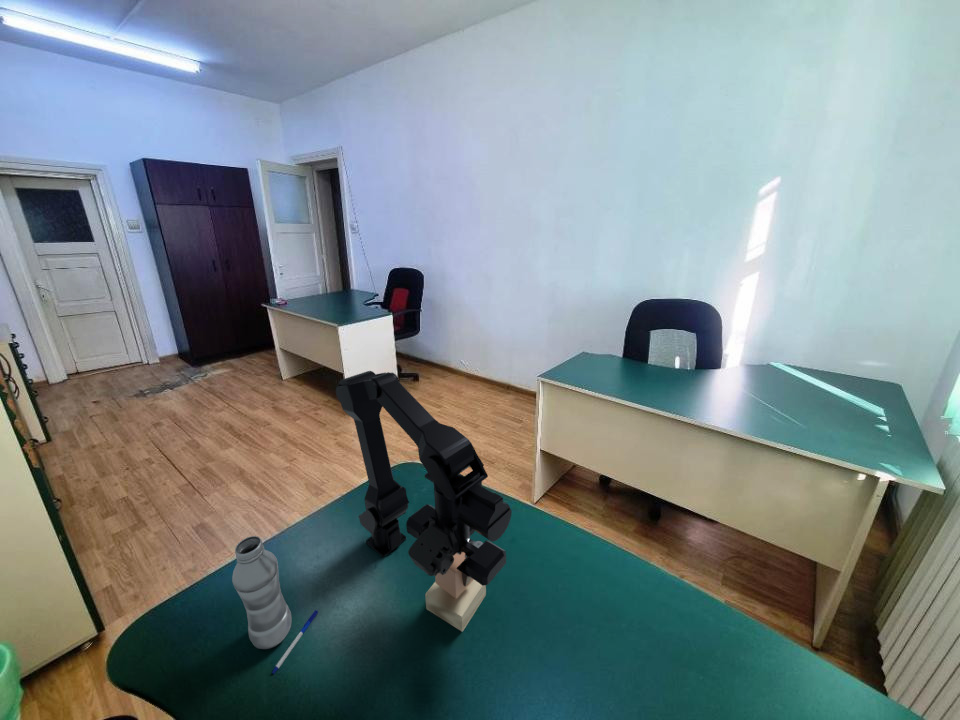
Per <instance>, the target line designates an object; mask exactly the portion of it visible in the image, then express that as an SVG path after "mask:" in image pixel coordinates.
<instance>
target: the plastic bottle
mask: <svg viewBox="0 0 960 720" xmlns="http://www.w3.org/2000/svg"><path fill="white" fill-rule="evenodd" d="M234 554H235V558H236V562H237V563H236V564H235V567H234V569H233V571H232V578H231V579H232V580H231V581H232V584H233V588H234V589H235V590H236V592H237V594H238V596H239V597H240V599H241V601H242V603H243V606H244V608H245V611H246V617H247V622H248V623H247V625H248V626H247V629H248V630H247V632H248V638H249V640H250V643H252V645H253V646H254V647H255V648H256V649H260V650H270V649H272V648H274V647H276V646H278V645H279V644H280V643H282V642H283V641H284V640H285V638H286V636H287V635H288V633H290V630H291V628H292V612H291V610H290V607H289V605H288V604H287V602H286V600H285V598H284V596H283V594H282V593H283V592H282V590H281V583H280V576H279V575H280V574H279V563H278V558H277V557H276V556H275V554H274V553H273V552H271V551H270V550H267V549H265V545H264V543H263V540H262V538H261V537H260V536H257V535H252V536H248V537H245V538H244V539H241V540H240V541H239V542H238V543H237V544H236V546H235V549H234Z"/></svg>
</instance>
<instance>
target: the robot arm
mask: <svg viewBox="0 0 960 720" xmlns="http://www.w3.org/2000/svg"><path fill="white" fill-rule="evenodd" d="M338 382H339V383H338V385H336V389H335V394H336V399H337V400H338V402H339V403H340V406H341V409H342V410H343V411H344V412H345V413H346V414H347V415H348V416H349V417H350V418H352V419H353V422H354V424H355V425H354V426H355V429H356V433H357V438H358V442H359V446H360V451H361V454H362V458H363V463H364V467H365V471H366V475H367V481H368V487H367V490H366V493H365V496H364V504H365V505H364V506H365V511H364V512H363V513H361V514H359V515H358V519H359V522H360V525H361V526H362V528H364V529H365V530H366V531H368V533H370V534H371V536H370V537H369V538H367V539H366V541H365V543H366V545H368V546H369V547H370V548H371V549H372V550H374V551H375V552H376V553H377V554H379V555H380V556H381V557H383V558H385V557H386V556H388V555H389V554H390V553H392V551H394V550H395V549H396V548H398V547H399V546H400V545H401V544H402V543H403V542H405V541H406V540H407V536H406V535H405V534H403V533H402V532H401V529H400V523H399V520H398V518H400V517H401V516H403V515H405V514H406V513H407V510H408V509H409V503H410V501H409V498H408V496H407V495H408V494H407V489H406V488H405V487H404V486H402V485H401V484H399V483H398V481H396V480H395V479H394V475H393V471H392V467H391V461H390V457H389V452H388V449H387V444H386V439H385V435H384V429H383V425H382V421H381V416H380V415H381V411H382V409H384V410H385V411H386V413H388V415H389V416H391V418H392V419H393V420H394V421H395V422H396V423H397V424H398V425H399V426H400V428H401V429H402V430H403V431H404V432H405V433H406V434H407V436H409V438H410V439H411V440H412V441H413V442H414V444H415V445H416V447H417V450H418V458H419V461H420V463H421V464H422V466H423V467H424V468H425V471H426V473H425V474H424V478H425V479H426V480H429V481H430V482H431V483H432V484H433V495H434V496H433V497H434V506H433V505H431V504H428V503H426V504H425V505H423V506H422V507H421V508H419V509H418V510H416V511H415V512H414V513H412V514H411V515H410V516H409V517H408V518H407V520H406V523H405V524H406V525H405V526H406V527H405V528H406V533H407V534H408V535H410V536H412V537H413V538H414V539H415V541H414V542H413V543H412V545H411V546H410V547H409V549H408V552H407V553H408V556H409V558H410V559H411V561H412V562H413V564H414V565H415V566H416V567H417V568H419V569H420V570H421V571H423V572H424V573H426V575H428V576H430V577H435V576H436V575H437V574H438V573H441V574H442V575H444V574H446V572H447V571H448V569H449V568H450V567H451V565H452V564H453V562H454V557H453V556H454V555H455V554H456V553H457V554H459V555H460V554H462V553H463V552H464V553H465V558H466V559H464V561H463V562H462V563H461V564H460V565H459V566H458V567H457V568H456V569H458V570H459V571H460V572H462V579H463V585H464V586H465V587H466V586H467V585H468V584H469V582H470V580H471V578H472V579H474V580H475V581H477V582H478V583H480V584H481V585H482V586H484V585H486V586H489V584H490V583H491V582H492V581H493V579H494V578H495V577H496V576H497V574H499V572H500V571H501V570H502V568H503V567H504V566H505V565H506V564H507V554H506V553H507V552H506V550H505V549H504V548H501V547H499V546H498V545H497V544H495V543H493V542H497V541H498V540H499V539H501V537H502V536H503V535H504V533H505V532H506V530H507V528H508V527H509V525H510V521H511V517H512V511H513V510H512V508H511V506H510V505H509V503H507V502H505V501H504V498H503V496H501V495H500V494H498V493H495V492H492V491H491V490H489V489H487V488H485V487H483V483H482V482H483V481H485V480H486V479H487V478H488V477H489V476H488V473H487V471H486V469H485V467H484V466H485V465H484V463H483V462H482V460H481V458H480V457H479V455H478V453H477V450H476V449H475V447H474V445H473V444H472V443H473V442H471V440H470V439H469V438H468V437H466V436H465V435H464V434H462V433H461V432H460V431H459V430H457V429H456V428H454V427H453V426H450V425H446V424H443V423H441V422H439V421H438V420H436V419H435V418H434V417H433V415H431V414H430V412H429V411H428V410H427V409H426V408H425V407H424V406H423V405H422V404H421V403H420V402H419V401H418V400H417V399H416V398H415V397H414V396H413V394H411V393H410V392H409V391H408V389H406V387H405V386H403V385H402V383H401V382H400V379H399V377H398V375H396V374H395V372H389V371H388V372H382V373H375V372H374V371H371V370H367V371H364V372H361V373H359V374H358V373H357V374H354V375H351V376H348V377H345V378H342V379H340V381H338ZM468 468H470V469H471V471H470V472H468V473H467V474H465V475H463V474H461V473H463V472H464V471H466V470H468ZM475 532H476V533H478V534H479V535H481V536H482V537H484V538H486V540H485V541H484V542H482V541H480V540H477V541H475V540H473V539H471V536H472V535H473V534H474V533H475Z"/></svg>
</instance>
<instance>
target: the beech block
mask: <svg viewBox="0 0 960 720" xmlns="http://www.w3.org/2000/svg"><path fill="white" fill-rule="evenodd" d="M486 586H487V585H484V586H482V585H481V584H480V583H478V582H477V581H475V580H473V581H472V582H471V583H470V584H469V585H468V586H467V588H466V589H465V590H464V591H463V592H462V593H461V594H460V595H459V596H458V598H457V599H456V598H454V597H453V596H452V595H450V594H449V593H448V592H447V591H445V590H444V589H443V588H441V587H440V586H439V585H438V584H436V580H435V581H434V582H433V584H432V585H431V586H430V588H429V589H428V590H427V591H426V593H425V594H424V597H425V606H426V607H425V608H426V610H427V611H429V612H430V613H432V614H433V615H435V616H436V617H438V618H440V619H441V620H443V621H444V622H446V623H448V624H449V625H451V626H452V627H454V628H455V629H457V630H459V631H460V632H463V631H464V630H465V628H466V627H467V626H468V624H469V622H470V621H471V619H472V618H473V617H474V615H475V613H476V611H477V610H478V608H479V606H480V605H481V603H482V602H483V600H484V599H485V597H486V596H487V587H486Z"/></svg>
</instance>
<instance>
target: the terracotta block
mask: <svg viewBox="0 0 960 720" xmlns="http://www.w3.org/2000/svg"><path fill="white" fill-rule="evenodd" d="M453 557H454V562H453V564H452V565H451V567H450V568H449V569H448V571H447V572H446V574H444V575H442V574H441V573H438V574H437V575H436V576H434V577H435V579H434V580H435V581H436V584H438V585H439V586H440V587H441V588H443V589H444V590H445V591H447V592H448V593H449V594H450V595H452V596H453V597H454V598H456V599H457V598H458V596H459V595H460V594H461V593H462V592H463V591H464V590H465V589H466V588H467V586H468V585H469V584H470V583H471V582H472V581H473V580H474V579H472V578H471V580H470V582H469V584H468V585H467V586H466V587H465V586H464V585H463V579H462V572H460V571H459V570H458V569H456V568H457V567H458V566H459V565H460V564H461V563H462V562H463V561H464V559H466V558H465V553H464V552H463V553H462V554H460V555H459V554H457V553H456V554H455V555H454V556H453Z"/></svg>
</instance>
